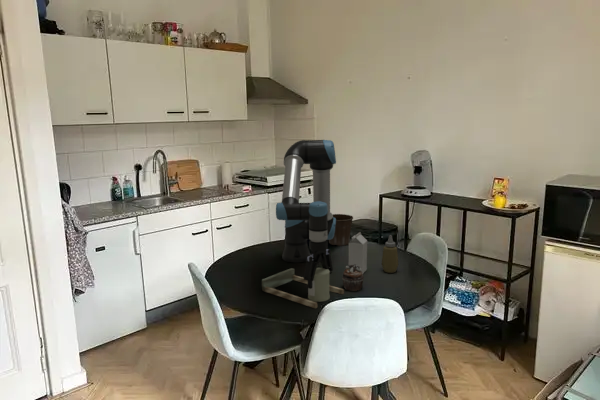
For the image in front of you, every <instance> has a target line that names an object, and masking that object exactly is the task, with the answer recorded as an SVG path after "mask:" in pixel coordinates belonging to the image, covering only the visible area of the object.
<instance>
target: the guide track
mask: <svg viewBox="0 0 600 400" xmlns="http://www.w3.org/2000/svg"><path fill="white" fill-rule="evenodd" d="M295 271H296V270H295V268H292V267H291V268H289V269H286V270H283V271H280V272H277V273H275V274H273V275H270V276H268V277H266V278H262V279H261V290H262V291H263V292H265V293H268V294H271V295H274V296H277V297H280V298H283V299H285V300H289V301H292V302H295V303H298V304H301V305H303V306H307V307H310V308H313V309H317V308H318V302H316V301H312V300H310V299H308V298H304V297H300V296H298V295H294V294H292V293H288V292H285V291H282V290H279V289H276V288H277V287H279V286H282V285H285V284H287V283H290V282H292V281H295V282H298V283H301V284H306V285H308V281H307V280H304V276H299V275H296V274H295ZM329 292H331V293H336V294H339V295H344V294H345V289H344V288H341V287H337V286H334V285H331V284H329Z"/></svg>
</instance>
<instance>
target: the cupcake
mask: <svg viewBox="0 0 600 400" xmlns="http://www.w3.org/2000/svg"><path fill="white" fill-rule="evenodd" d="M361 270H362V269H361V268H360V267H359V266H356V264H354V265H349V264H348V265H346V266H345V269H344V271H343V272H342V273H343V274H342V277H341V278H342V279H341V280H342V284H343V289H344V288H345V289H344V290H346V291H349V292H357V290H358V291H361V290H362V289H361V288H363V283H364V279H365V276H364V273H363V274H362V272H361ZM360 289H361V290H360Z"/></svg>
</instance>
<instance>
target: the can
mask: <svg viewBox="0 0 600 400" xmlns="http://www.w3.org/2000/svg"><path fill="white" fill-rule="evenodd" d="M330 275H331V274H330V271H329V270H328V269H324V268H322V267H317V268H316V272H315V275H314V279H313V280H314V281H315V296H311V295H308V294H307V300H310V301H313V302H316V303H318V302H320V303H321V302H326V301H329V300H330V298H331V295H330V291H329V285H330Z"/></svg>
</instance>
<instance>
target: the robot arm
mask: <svg viewBox="0 0 600 400" xmlns="http://www.w3.org/2000/svg"><path fill="white" fill-rule="evenodd" d="M336 157H337V156H336V150H335V143H334V142H333V140H331V139H308V140H307V139H302V140H298V141H296V142H294V143H293V144H292V145H290V147H288V149H287V150H286V152H285V154H284V157H283V166H284V175H283V176H284V177H283V185H282V194H281V195H282V196H281V202H277V203H276V206H275V216H276V217H275V218H276V219H277V220H278V221H284V237H285V239H284V240H285V243H284V249H283V252H282V254H281V256H282V258H281V259H282V260H283V261H285V262H287V263H304V262H305V269H304V274H303V278H304V280H307V281H308V284H307V293H308V294H307V296H308V295H311V296H315V281H314V280H313V279H314V275H315V272H316V268H318V267H317V266H319V264H320V265H321V268H324V269H328V270H329V271H330V274H329V275H332V273H333V272H332V271H333V270H334V268H333V263H332V256H331V253H332V251H331V249H329V248H328V247H329V246H328V245H329V240H331V239H333V237H334V233H335V225H336V218H334V217H333V213H332V212H331V170H332V169H333V168H334V165H336V164H337V158H336ZM304 165H309V169H310V170H312V189H313V191H312V193H313V194H312V195H313V196H312V199H313V201H312V202H300V192H301V191H300V190H301V189H300V188H301V178H302V177H301V175H302V168H303V166H304ZM308 240H309V241H308ZM308 243H309V246H308ZM310 251H311V253H310Z"/></svg>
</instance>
